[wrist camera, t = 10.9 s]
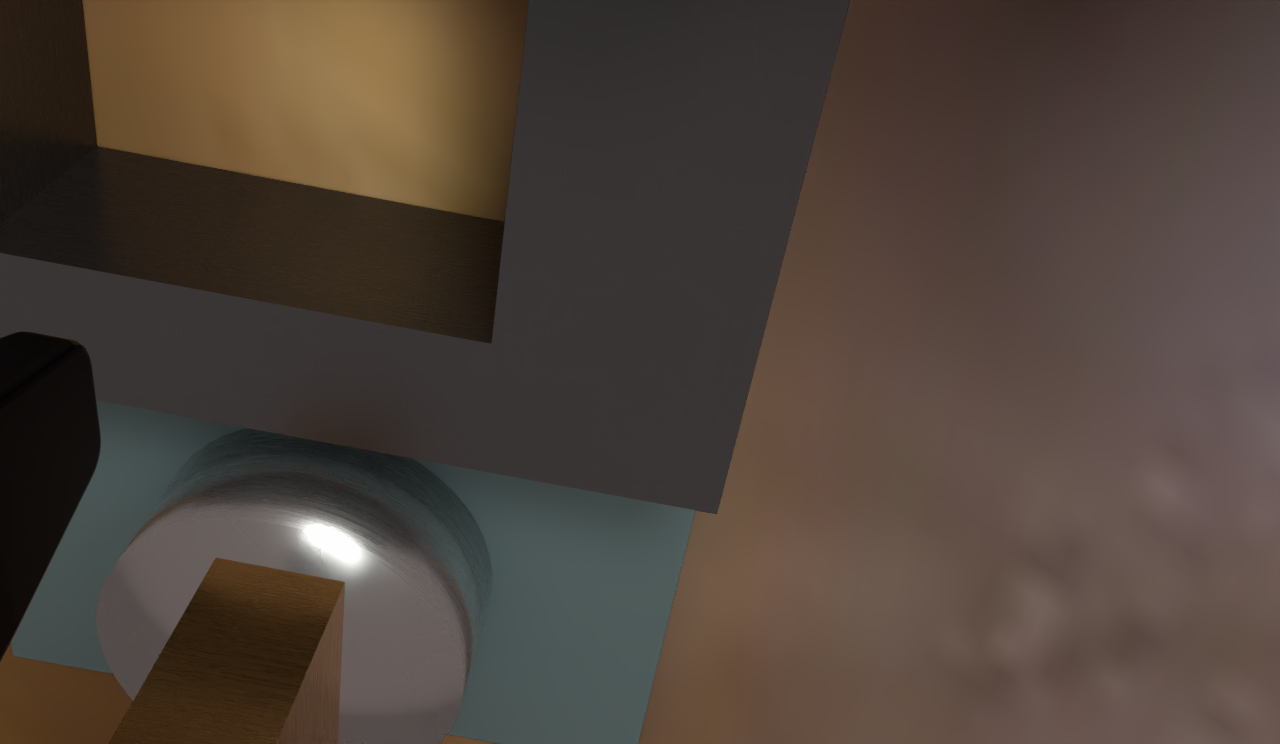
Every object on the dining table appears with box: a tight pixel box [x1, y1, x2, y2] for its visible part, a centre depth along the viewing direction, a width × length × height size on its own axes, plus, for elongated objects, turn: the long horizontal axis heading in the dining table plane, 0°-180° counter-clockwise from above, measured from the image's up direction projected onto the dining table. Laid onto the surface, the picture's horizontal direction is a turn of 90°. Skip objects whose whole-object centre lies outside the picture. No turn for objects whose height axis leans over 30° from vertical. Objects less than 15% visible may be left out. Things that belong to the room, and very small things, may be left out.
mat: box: [11, 400, 695, 744], centre depth 26 cm, size 15×10×1 cm, turn 81°
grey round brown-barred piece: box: [96, 428, 492, 744], centre depth 22 cm, size 7×7×9 cm
